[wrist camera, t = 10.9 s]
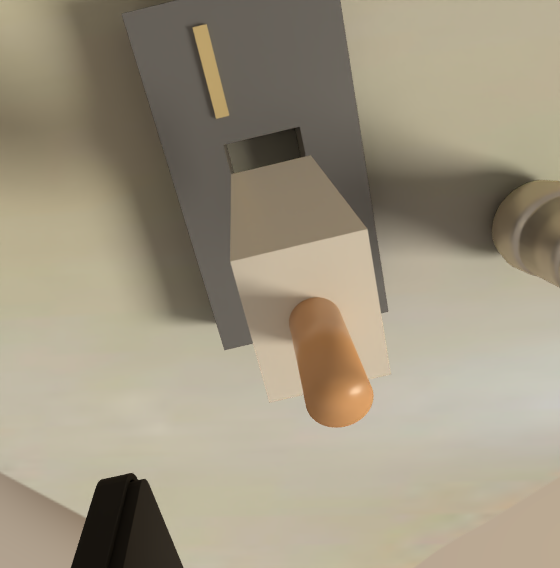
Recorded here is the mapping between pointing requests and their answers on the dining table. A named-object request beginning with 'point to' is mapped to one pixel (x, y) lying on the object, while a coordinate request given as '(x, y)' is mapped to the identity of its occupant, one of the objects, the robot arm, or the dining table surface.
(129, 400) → the dining table surface
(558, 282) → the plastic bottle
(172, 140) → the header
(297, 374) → the plug
